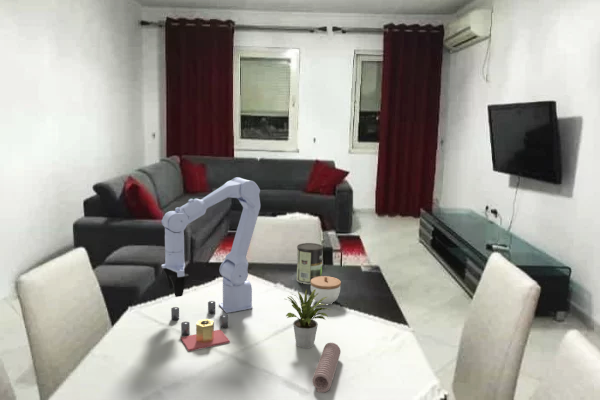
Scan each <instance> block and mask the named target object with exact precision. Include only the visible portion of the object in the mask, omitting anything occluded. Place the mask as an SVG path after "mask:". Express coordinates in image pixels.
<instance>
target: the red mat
mask: <svg viewBox="0 0 600 400" xmlns="http://www.w3.org/2000/svg"><path fill="white" fill-rule="evenodd" d="M180 340H181V341H182V343H183V345H184V347H185V349H187V351H188V352H192V351H196V350H201V349H206V348H211V347H215V346H219V345H224V344H229V343H230V342H231V341H230V340H231V339H229V338H228V337H227V335H226V334H225V333H224V331H223V330H222V328H220V329H214V338H213V340H212V341H211V342H206V343H201V342H198V341H196V334H191V335H188V336H181V337H180Z"/></svg>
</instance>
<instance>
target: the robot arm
mask: <svg viewBox="0 0 600 400" xmlns="http://www.w3.org/2000/svg"><path fill="white" fill-rule="evenodd" d="M260 193H261V189H260V187H259V186H258V184H257V183H256V182H255V181H254V180H249V179H245V178H242V177H239V176H237V177H233V178H232V179H231V180H227V181H226V182H225V183H224V184H222V185H221V186H220V187H218V188H217V189H215V190H213V191H212V192H210V193H208V194H207V195H206V196H204V197H202V198H201V199H199V198H194V199H193V198H189V199H188V200H187V202H186V203H185V204H183V205H181V206H179V207H178V206H177V207H175V210H170V211H167V212H166V213H165V214H164V215H163V217H162V219H161V225H162V226H163V227H164V256H165V257H164V258H165V259H164V260H165V262H164V263H163V264H161V268H162V270H163V272H164V274H165V278H166V280H167V285H168V286H167V287H168V288H169V290H170V289H172V290H173V294H174V297H176V298H178V297H183V294H184V291H185V290H184V289H185V287H186V283H187V281H188V279H189V274H188V273H185V268H186V263H185V235H184V233H185V230H186V228H187V225H189V224H191V223H192V222H194V221H195V220H197V219H199V218H201V217H202V216H204V215H205V214H206V212H207V210H208V209H209V208H211V207H213V206H214V205H216V204H218V203H220V202H222V201H224V200H226V199H228V198H234V199H237V200H238V201H239V203H240V204H241V206H242V212H241V215H240V218H239V222H238V226H237V228H236V231H235V235H234V237H233V238H234V239H233V242H232V246H231V249H230V252H229V253H227V255H225V258H224V260H223V261H222V263H221V264H220V265H219V275H221V276H222V302H219V303H218V306H219V307H220V309H222V310H223V311H224V312H225V313H226V314H229V313H235V312H239V311H245V310H246V311H247V310H250V309H253V289H252V282H250V280H249V279H248V276H249V274H248V273H249V272H248V268H249V262H248V259H247V255H248V251H249V247H250V244H251V242H252V238H253V234H254V231H255V227H256V224H257V220H258V217H259V214H260V210H261V199H260Z"/></svg>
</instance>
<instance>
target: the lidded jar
mask: <svg viewBox="0 0 600 400" xmlns="http://www.w3.org/2000/svg"><path fill="white" fill-rule="evenodd" d="M341 284H342V281H341V280H340V279H339V278H336V277H332V276H327V275H324V276H323V275H322V276H319V277H315V278H312V279H311V284H310V292H311V293H312V291H313V290H315V289H316V291H315V293H314V296H315V295H316V294H317V296H316V297H315V298H314V299H313V300H315V302H316V301H317V302H318V301H320V300H321V299H322V298H325V297H327V298H325V299H324V300H322V301H321V302H320V303H321V304H331V303H333V302H334V303H335V302H336V301H337V300H338V298H339V295H340V292H341V286H342V285H341ZM311 293H310V294H311ZM317 302H316V303H317ZM334 303H333V304H334ZM331 305H332V304H331Z"/></svg>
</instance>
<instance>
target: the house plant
mask: <svg viewBox="0 0 600 400" xmlns="http://www.w3.org/2000/svg"><path fill="white" fill-rule="evenodd" d="M315 291H316V289H315V290H313V291H312V293H310V295H309V297H308V295H307V294H308V289H307V288H306V289H305V292H304V298H303V296H302V294H301V293H300V292H299V291H297V294H298V297H299V298H298V297H297V295H295V297H296V298H297V299H298V302H299V303H300V306H299V305H298V302H296V300H295V299H294V298H293V296H294V294H291V295H292V296H290V295H288V296H287V298H285V300H287V301H288V302H290V303H291V307H292V308H294V310H296V312H297V313H298V315H299V317H300V318H299V317H298V316H297V315H296V314H294V313H293V312H288V313H287V314H285V317H287V318H286V319H288V318H297V319H295V320H294V321H293V322H292V323H293V324H292V325H293V330H294V339H295V344H296V346H297V347H299V348H304V349H307V348H308V349H309V348H311V347H313V346H314V345H315V340H316V335H317V331H318V326H319V324H318V322H317V321H316V319H321V320H326V318H325V317H324V316H326V317H327V318H328V317H329V316H328V314H327V313H325V312H320V311H324V310H329V311H332V309H330V308H327V307H322V306H326V305H325V304H319V303H320V302H321V301H322V300H324V299H325V298H327V297H325V298H322V299H321V300H320V301H318V302H316V303H315V304H314V305H313V301H314V300H315V299H314V298H315V297H316V296H317V294H316V295H315V296H314V293H315ZM307 297H308V298H307Z"/></svg>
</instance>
